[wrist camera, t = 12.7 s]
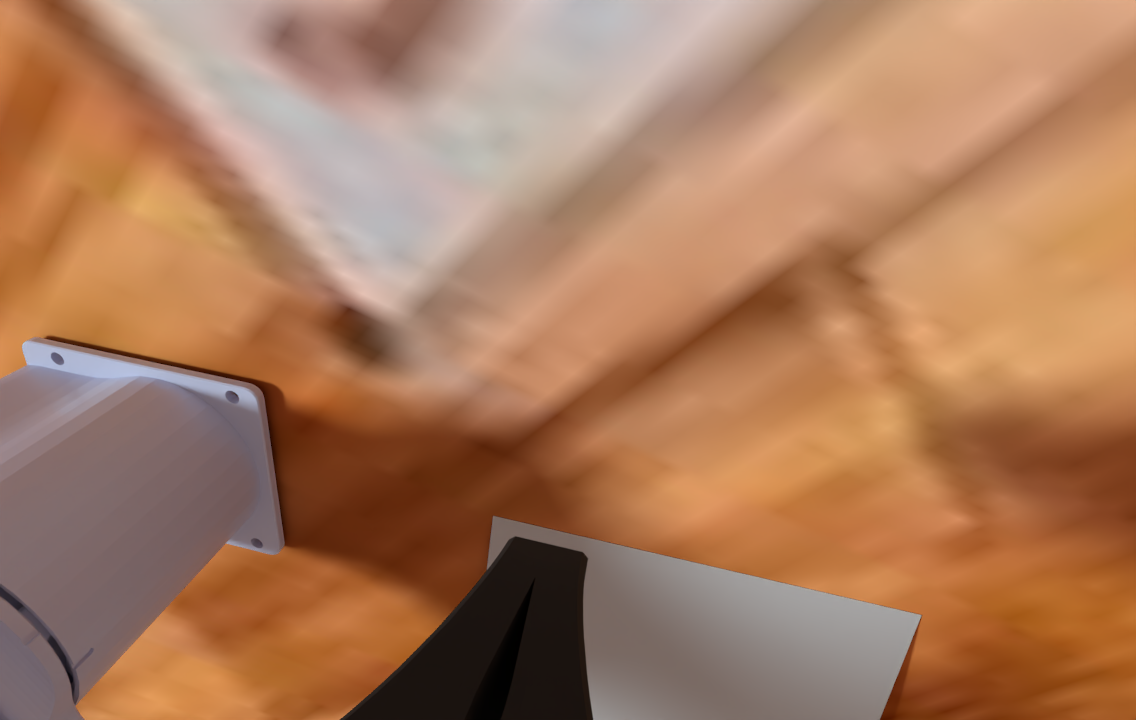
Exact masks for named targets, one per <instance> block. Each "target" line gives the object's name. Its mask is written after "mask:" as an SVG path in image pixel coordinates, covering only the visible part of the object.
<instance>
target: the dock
mask: <svg viewBox="0 0 1136 720" xmlns="http://www.w3.org/2000/svg"><path fill="white" fill-rule="evenodd" d="M515 536H517V537H521V538H525V539H530V540H534V541H538V542H543V543H547V544H551V545H555V546H560V547H564V548H568V549H572V550H577V551H581V552H583V553H584V554H585V555H586V556H587V558H588V563H587V568H586V574H585V580H584V593H583V625H584V643H585V655H586V667H587V677H588V685H589V694H590V701H591V707H592V714H593V720H880V718H881V715H882V713H883V710H884V708H885V705H886V703H887V700H888V698H889V695H890V693H891V690H892V688H893V685H894V683H895V680H896V678H897V675H898V673H899V671H900V668H901V666H902V663H903V661H904V658H905V656H906V653H907V651H908V648H909V646H910V643H911V641H912V638H913V636H914V633H915V631H916V628H917V626H918V623H919V621H920V618H921V616H922V615H920V614H915V613H911V612H907V611H902V610H898V609H894V608H889V607H885V606H881V605H876V604H872V603H868V602H863V601H859V600H855V599H851V598H846V597H842V596H838V595H833V594H829V593H825V592H820V591H816V590H812V589H807V588H803V587H799V586H794V585H790V584H786V583H782V582H777V581H773V580H769V579H764V578H760V577H756V576H751V575H747V574H743V573H738V572H734V571H730V570H725V569H721V568H717V567H712V566H708V565H704V564H700V563H695V562H691V561H687V560H682V559H678V558H674V557H669V556H665V555H661V554H656V553H652V552H648V551H643V550H639V549H635V548H631V547H626V546H622V545H618V544H613V543H609V542H605V541H600V540H596V539H592V538H587V537H583V536H579V535H574V534H570V533H566V532H561V531H557V530H553V529H549V528H544V527H540V526H536V525H531V524H527V523H523V522H518V521H514V520H510V519H505V518H501V517H497V516H493V520H492V529H491V537H490V546H489V554H488V563H487V570H488V568H489V567H490V566H491V564H492V563H493V562H494V560H495V559H496V558H497V556H498V555H499V553H500V552H501V551H502V549H503V548H504V546H505V545H506V543H507V541H508V540H509V539H511V538H513V537H515Z"/></svg>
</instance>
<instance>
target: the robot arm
mask: <svg viewBox="0 0 1136 720" xmlns="http://www.w3.org/2000/svg"><path fill="white" fill-rule="evenodd" d="M22 350H23V353H24V356H25V359H26V362H27V365H26V366H24V367H22V368H20V369H19V370H17V371H15V372H13V373H11V374H9V375H7V376H5V377H3V378H1V379H0V720H84V718H83V717H82V716H81V715H80V713H79V712H78V710H77V709H76V707H75V706H76V705H77V703H78V702H79V701H80V700H81V699H82V698H83V697H84V696H85V695H86V694H87V693H88V692H89V691H90V689H91V688H92V687H93V686H94V685H95V684H96V683H97V682H98V681H99V680H100V679H101V678H102V676H103V675H104V674H105V673H106V672H107V671H108V670H109V669H110V668H111V667H112V666H113V665H114V664H115V662H116V661H117V660H118V659H119V658H120V657H121V656H122V655H123V654H124V653H125V652H126V651H127V649H128V648H129V647H130V646H131V645H132V644H133V643H134V642H135V641H136V640H137V639H138V638H139V637H140V635H141V634H142V633H143V632H144V631H145V630H146V629H147V628H148V627H149V626H150V625H151V624H152V623H153V621H154V620H155V619H156V618H157V617H158V616H159V615H160V614H161V613H162V612H163V611H164V610H165V608H166V607H167V606H168V605H169V604H170V603H171V602H172V601H173V600H174V599H175V598H176V597H177V596H178V594H179V593H180V592H181V591H182V590H183V589H184V588H185V587H186V586H187V585H188V584H189V583H190V581H191V580H192V579H193V578H194V577H195V576H196V575H197V574H198V573H199V572H200V571H201V570H202V569H203V567H204V566H205V565H206V564H207V563H208V562H209V561H210V560H211V559H212V558H213V557H214V556H215V554H216V553H217V552H218V551H219V550H220V549H221V548H222V547H223V546H224V545H225V544H226V543H227V544H231V545H235V546H239V547H243V548H247V549H251V550H255V551H259V552H263V553H267V554H273V555H275V554H278V553H279V552H280V551H281V549H282V548H283V547H284V544H285V541H284V534H283V527H282V520H281V513H280V506H279V499H278V492H277V484H276V477H275V470H274V463H273V456H272V449H271V442H270V434H269V427H268V420H267V413H266V406H265V399H264V395H263V393H262V391H261V390H260V389H259V388H258V387H257V386H256V385H253V384H251V383H247V382H243V381H238V380H233V379H229V378H224V377H219V376H215V375H210V374H206V373H201V372H196V371H192V370H187V369H182V368H178V367H173V366H168V365H164V364H159V363H155V362H150V361H145V360H141V359H136V358H131V357H127V356H122V355H117V354H113V353H108V352H104V351H99V350H94V349H90V348H85V347H80V346H76V345H71V344H66V343H62V342H57V341H53V340H48V339H43V338H39V337H33V338H31V339H29V340H27V341H25V342H24V343H23V345H22ZM234 392H235V393H236V394H237V395H238V397H237V396H236V395H235V394H234ZM587 563H588V558H587V556H586V555H585V554H584V553H583V552H581V551H577V550H572V549H568V548H564V547H560V546H555V545H551V544H547V543H543V542H538V541H534V540H530V539H525V538H521V537H517V536H515V537H513V538H511V539H509V540H508V541H507V543H506V545H505V546H504V548H503V549H502V551H501V552H500V553H499V555H498V556H497V558H496V559H495V560H494V562H493V563H492V564H491V566H490V567H489V568H488V570H487V571H486V572H485V574H484V575H483V576H482V577H481V579H480V580H479V581H478V582H477V583H476V585H475V586H474V587H473V588H472V590H471V591H470V592H469V593H468V594H467V596H466V597H465V598H464V599H463V600H462V601H461V602H460V604H459V605H458V606H457V607H456V608H455V609H454V610H453V611H452V613H451V614H450V615H449V616H448V617H447V618H446V619H445V621H444V622H443V623H442V624H441V625H440V626H439V627H438V628H437V629H436V630H435V631H434V632H433V633H432V634H431V635H430V637H429V638H428V639H427V640H426V641H425V642H424V643H423V644H422V645H421V646H420V647H419V648H418V649H417V650H416V651H415V652H414V653H413V654H412V655H411V656H410V657H409V658H408V659H407V660H406V661H405V662H404V663H403V664H402V665H401V666H400V667H399V668H398V669H397V670H396V671H394V672H393V673H392V674H391V675H390V676H389V677H388V678H387V679H386V680H385V681H384V682H383V683H382V684H381V685H379V686H378V687H377V688H376V689H375V690H374V691H373V692H372V693H371V694H369V695H368V696H367V697H366V698H365V699H364V700H363V701H361V702H360V703H359V704H358V705H357V706H356V707H354V708H353V709H352V710H351V711H350V712H349V713H347V714H346V715H345V716H344V717H343V718H341V719H340V720H593V714H592V707H591V701H590V694H589V685H588V677H587V667H586V655H585V643H584V625H583V593H584V580H585V574H586V568H587Z"/></svg>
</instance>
